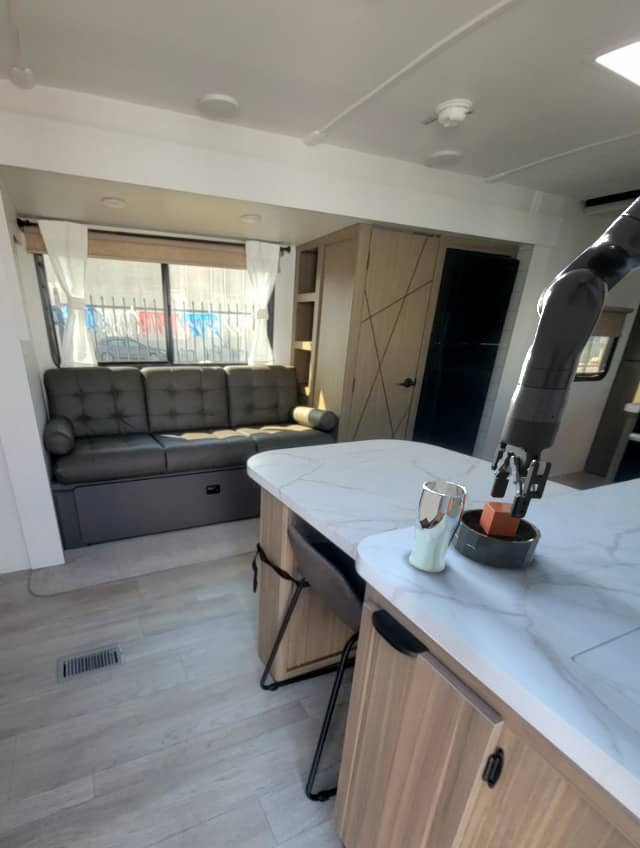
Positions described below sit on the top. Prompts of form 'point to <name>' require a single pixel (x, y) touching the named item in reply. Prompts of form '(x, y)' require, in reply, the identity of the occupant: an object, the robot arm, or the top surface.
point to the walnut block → (502, 537)
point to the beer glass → (436, 523)
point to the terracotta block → (499, 519)
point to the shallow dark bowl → (496, 543)
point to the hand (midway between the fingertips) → (506, 506)
